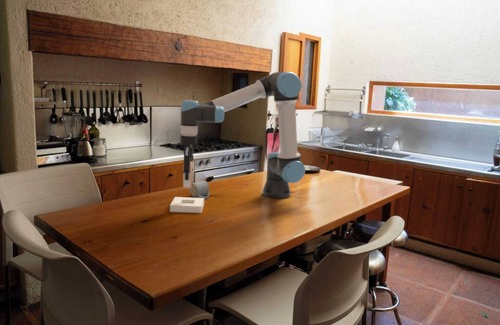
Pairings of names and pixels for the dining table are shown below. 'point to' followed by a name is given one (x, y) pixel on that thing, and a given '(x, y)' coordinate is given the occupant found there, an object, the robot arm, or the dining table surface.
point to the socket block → (187, 205)
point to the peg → (190, 177)
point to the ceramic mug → (200, 189)
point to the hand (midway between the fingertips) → (187, 185)
